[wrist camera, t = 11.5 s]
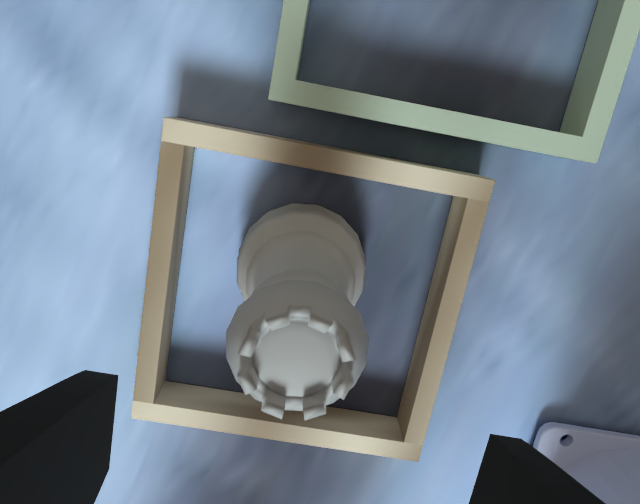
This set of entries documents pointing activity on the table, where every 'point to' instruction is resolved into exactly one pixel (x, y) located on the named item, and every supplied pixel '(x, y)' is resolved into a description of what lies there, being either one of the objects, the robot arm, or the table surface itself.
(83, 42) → the table surface
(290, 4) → the sage square frame
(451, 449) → the table surface
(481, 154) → the table surface
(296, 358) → the rook chess piece
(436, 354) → the beige square frame
